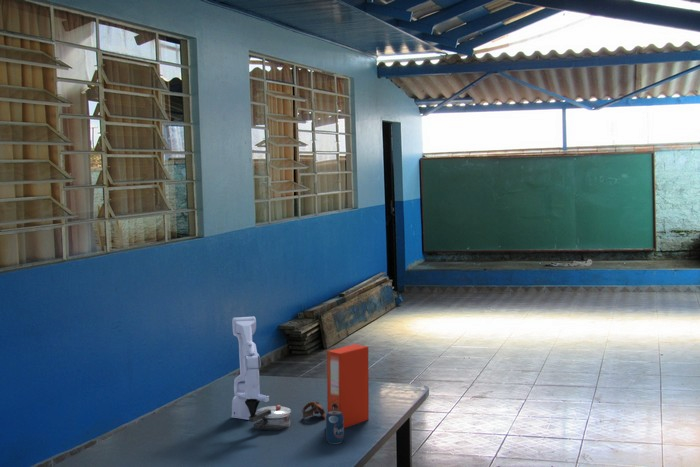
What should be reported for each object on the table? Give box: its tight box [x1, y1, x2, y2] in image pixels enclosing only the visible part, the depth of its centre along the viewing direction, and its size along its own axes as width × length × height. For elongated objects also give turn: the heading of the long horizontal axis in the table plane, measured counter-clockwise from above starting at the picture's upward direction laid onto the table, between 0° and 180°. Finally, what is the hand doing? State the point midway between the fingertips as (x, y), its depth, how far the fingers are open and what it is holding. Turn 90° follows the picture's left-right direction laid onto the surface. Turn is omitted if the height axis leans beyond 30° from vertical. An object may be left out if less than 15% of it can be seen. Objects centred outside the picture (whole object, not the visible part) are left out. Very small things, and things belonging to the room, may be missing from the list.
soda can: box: [325, 410, 345, 445], centre depth 332 cm, size 7×7×12 cm
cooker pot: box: [253, 414, 291, 431], centre depth 352 cm, size 24×14×5 cm, turn 156°
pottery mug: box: [301, 401, 327, 420], centre depth 364 cm, size 12×10×8 cm
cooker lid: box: [248, 404, 292, 423], centre depth 351 cm, size 22×15×2 cm, turn 148°
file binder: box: [326, 343, 370, 429], centre depth 355 cm, size 8×17×32 cm, turn 137°
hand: (253, 416), depth 345 cm, fingers closed
